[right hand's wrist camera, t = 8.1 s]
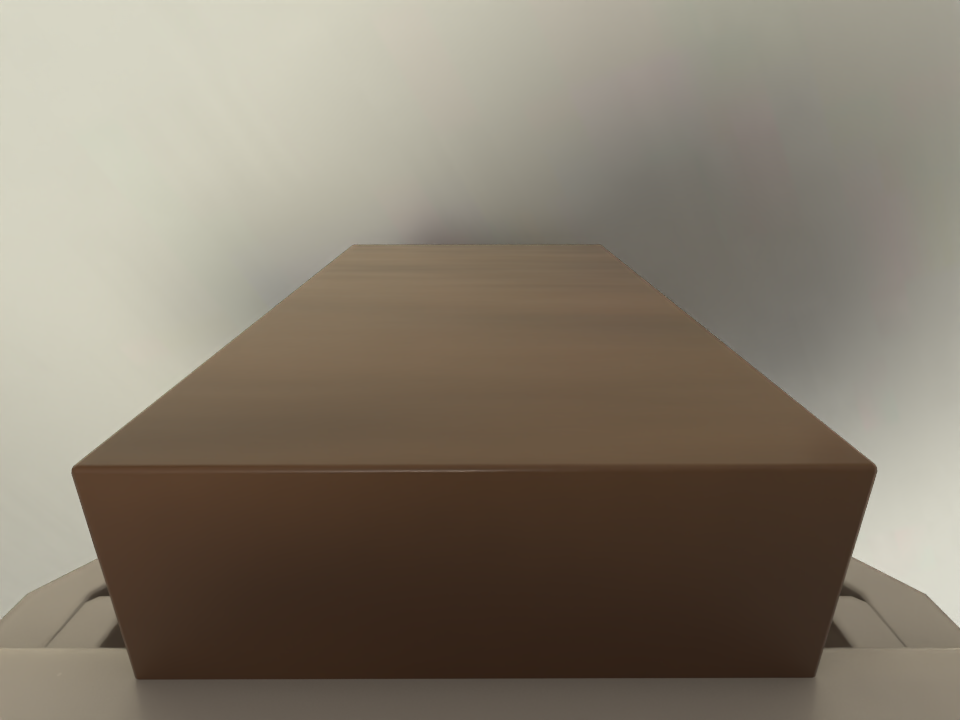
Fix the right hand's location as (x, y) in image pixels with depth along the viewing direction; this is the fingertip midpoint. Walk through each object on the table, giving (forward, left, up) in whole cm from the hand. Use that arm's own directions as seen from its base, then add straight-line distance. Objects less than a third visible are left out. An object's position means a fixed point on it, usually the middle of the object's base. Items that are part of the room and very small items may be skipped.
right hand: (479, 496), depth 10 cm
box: (+2, +9, -5) cm, 10 cm away
